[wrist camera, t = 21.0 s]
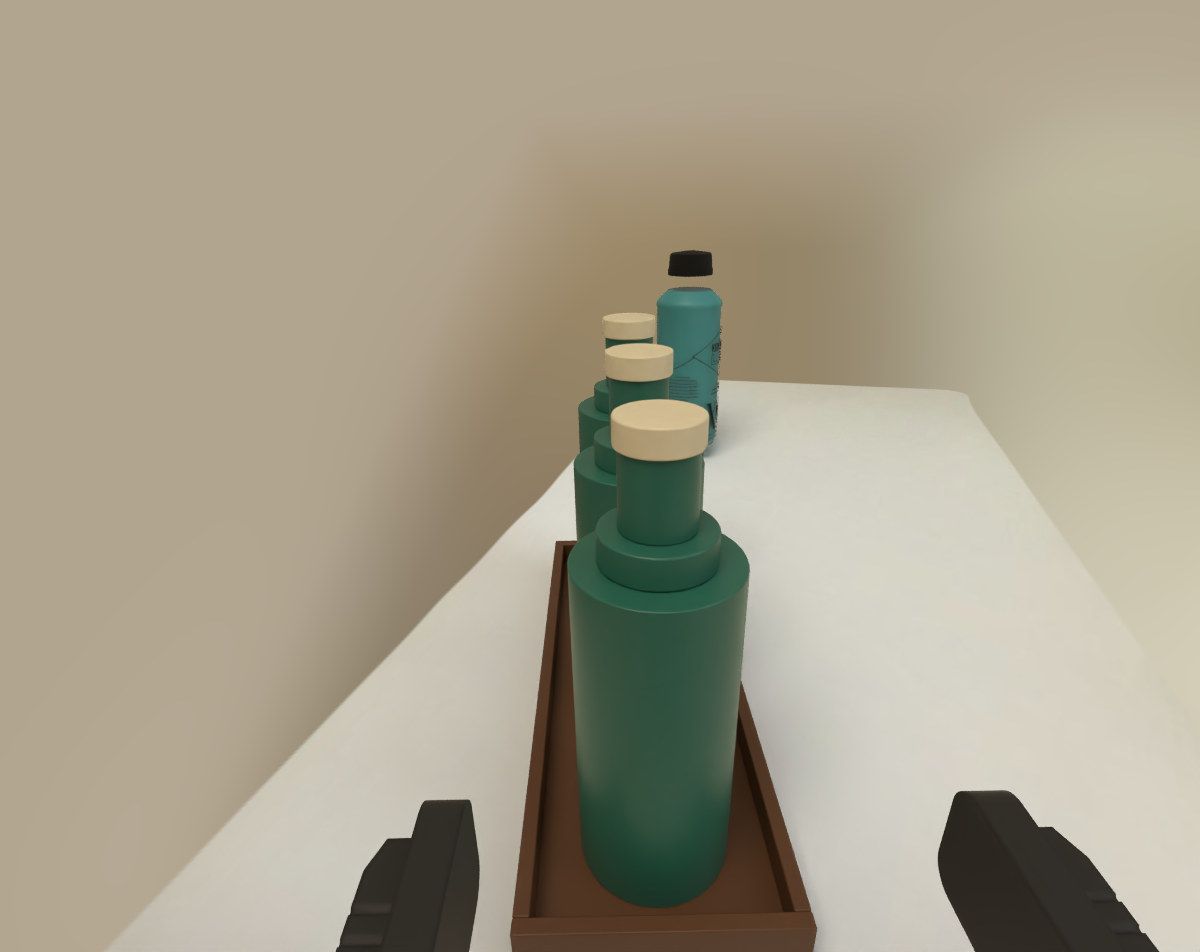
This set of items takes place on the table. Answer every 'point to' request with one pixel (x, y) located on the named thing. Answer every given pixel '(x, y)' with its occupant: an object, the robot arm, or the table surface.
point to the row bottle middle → (630, 379)
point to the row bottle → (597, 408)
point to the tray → (592, 913)
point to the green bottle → (656, 665)
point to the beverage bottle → (692, 334)
